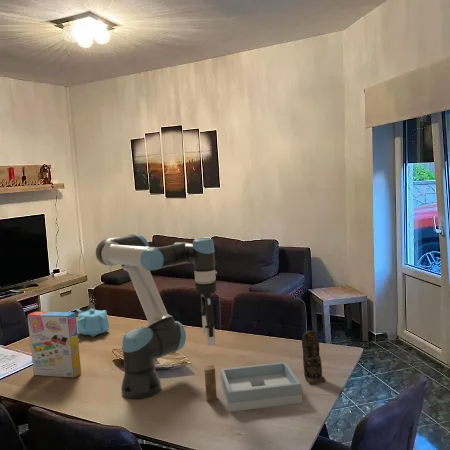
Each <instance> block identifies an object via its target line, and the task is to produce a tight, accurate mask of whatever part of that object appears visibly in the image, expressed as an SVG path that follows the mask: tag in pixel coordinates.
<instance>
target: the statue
mask: <svg viewBox="0 0 450 450" xmlns="http://www.w3.org/2000/svg"><path fill="white" fill-rule="evenodd" d="M301 345H302V361H303V363H302V364H303V373H304V375H303V376H304V379H305V380H306V382H307V383H308V385H318V384H321V383H325V382H326V378H325V377H324V376H323V368H322V367H323V366H322V365H323V364H322V358H321V356H320V350H321V349H320V341H319V335H318V333H317V331H315V330H308V331H306V332H304V334H303V335H302V337H301Z"/></svg>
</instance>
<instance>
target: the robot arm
mask: <svg viewBox="0 0 450 450" xmlns="http://www.w3.org/2000/svg"><path fill="white" fill-rule="evenodd" d="M215 253H216V250H215V244H214V239H212V238H208V237H201V238H195V239H193V240H192V243H191V242H185V241H178V242H177V241H176V242H174V243H173V244H169V245H165V246H156V247H155V246H150V244H149V242H148V241H147V239H146V238H145V237H144V236H143V235H141V234H138V233H136V234H133V233H131V234H127V235H120V236H115V237H114V236H113V237H108V238H105V239H103V240H101V241H100V242H99V243H98V245H97V246H96V248H95V258H96V259H97V261H98V262H99V263H100V264H102V265H104V266H110V267H112V266H113V267H114V266H117V265H121V268H122V270H124V271H125V272H128V275H129V278H130V280H131V283H132V285H133V288H134V290H135V292H136V295H137V297H138V300H139V302H140V305H141V307H142V309H143V312H144V315H145V317H146V319H147V322H148V324H147V325H146V326H145V327H144V326H142V327H137V328H134V329H131V330H129V331H128V332H126V333H125V334H124V335H123V337H122V344H121V345H122V347H121V348H122V355H123V356H122V357H123V366H124V374H123V379H122V382H121V394H122V396H123V397H124V398H127V399H130V400H131V399H132V400H133V399H134V400H139V399H141V400H142V399H147V398H149V397H152V396H155V395H157V393H160V390H161V389H162V386H161V385H162V384H161V380H160V378H159V374H158V373H157V371H156V367H155V366H156V365H155V364H156V363H155V362H156V361H155V360H157V359H161V358H163V357H164V356H165V357H166V356H167V355H170V354H174V353H176V352H177V351H180V350H182V349H183V348H184V346H185V344H186V339H187V334H186V329H185V327H184V325H183V324H182V323H181V322H180V321H178V320H175V318H174V317H173V315H170V314H169V313H168V311H167V309H166V307H165V304H164V302H163V300H162V297H161V294H160V292H159V290H158V287H157V285H156V282H155V280H154V278H153V275H152V273H151V271H157V270H159V269H160V270H161V269H164V268H168V267H174V266H179V265H182V264H192V265H193V266H194V267H193V269H194V281H195V284H194V285H195V286H194V287H195V293H196V294H199V295H200V305H201V306H200V307H201V309H200V312H201V315H202V316H201V323H202V324H201V325H202V334H206V342H207V343H206V344H207V346H216V334H215V333H216V332H215V331H216V330H215V329H216V328H215V327H216V323H215V314H214V303H213V301H214V300H213V299H214V298H213V296H212V295H211V294H214V293H216V292H217V281H216V279H217V278H216V275H218V272H217V270H216V259H215V258H216V256H215V255H216V254H215Z"/></svg>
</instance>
